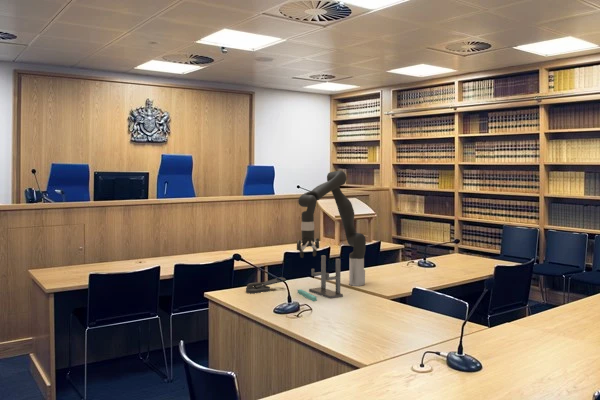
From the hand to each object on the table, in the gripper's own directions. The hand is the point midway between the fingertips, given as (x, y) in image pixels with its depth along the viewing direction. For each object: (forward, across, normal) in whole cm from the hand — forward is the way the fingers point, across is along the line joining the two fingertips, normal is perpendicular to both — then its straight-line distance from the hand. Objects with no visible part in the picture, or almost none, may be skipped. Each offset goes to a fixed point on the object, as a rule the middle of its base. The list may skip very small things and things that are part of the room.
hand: (308, 256), depth 309 cm
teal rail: (+23, +3, +3) cm, 23 cm away
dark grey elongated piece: (+23, +15, -24) cm, 37 cm away
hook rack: (+23, -10, +3) cm, 25 cm away
